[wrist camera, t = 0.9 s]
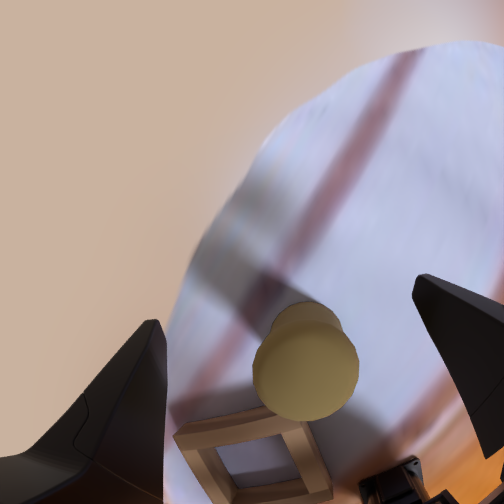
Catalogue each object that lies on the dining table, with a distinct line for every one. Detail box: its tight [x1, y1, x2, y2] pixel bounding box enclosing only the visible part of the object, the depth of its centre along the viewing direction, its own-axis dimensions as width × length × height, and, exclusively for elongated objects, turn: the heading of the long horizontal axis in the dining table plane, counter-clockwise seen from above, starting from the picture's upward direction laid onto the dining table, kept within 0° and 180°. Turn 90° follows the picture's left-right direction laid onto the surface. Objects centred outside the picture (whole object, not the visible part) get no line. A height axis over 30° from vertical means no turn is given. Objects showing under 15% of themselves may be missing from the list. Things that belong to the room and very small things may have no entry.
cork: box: [252, 302, 359, 421], centre depth 16 cm, size 6×6×11 cm
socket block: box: [173, 405, 333, 504], centre depth 19 cm, size 11×11×3 cm
